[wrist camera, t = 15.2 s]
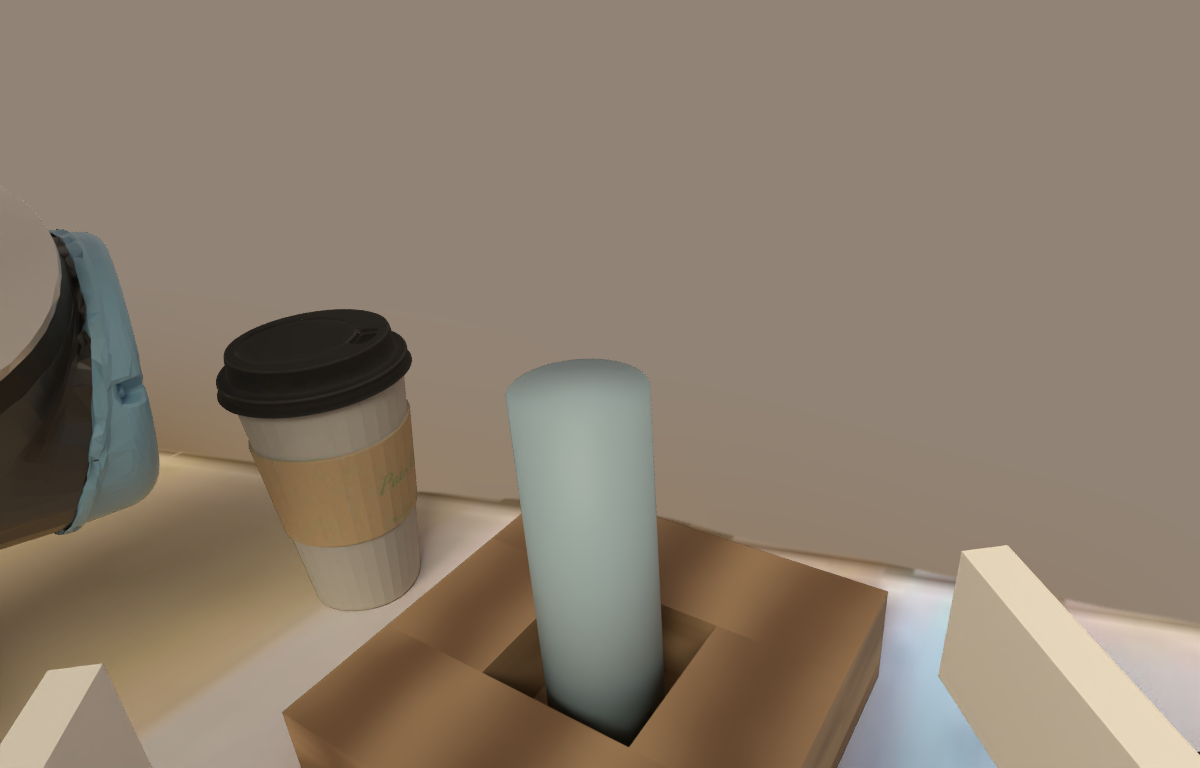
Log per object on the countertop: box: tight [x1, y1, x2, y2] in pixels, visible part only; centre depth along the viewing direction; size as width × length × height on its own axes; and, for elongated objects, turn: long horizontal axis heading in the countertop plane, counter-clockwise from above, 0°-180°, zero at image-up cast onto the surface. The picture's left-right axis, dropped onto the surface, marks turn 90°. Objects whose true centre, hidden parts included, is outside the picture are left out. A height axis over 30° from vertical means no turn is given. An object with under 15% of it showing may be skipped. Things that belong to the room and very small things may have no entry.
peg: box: [506, 359, 665, 747], centre depth 31 cm, size 5×5×16 cm
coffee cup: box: [216, 309, 420, 611], centre depth 43 cm, size 9×9×15 cm
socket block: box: [282, 514, 888, 768], centre depth 34 cm, size 18×18×5 cm
